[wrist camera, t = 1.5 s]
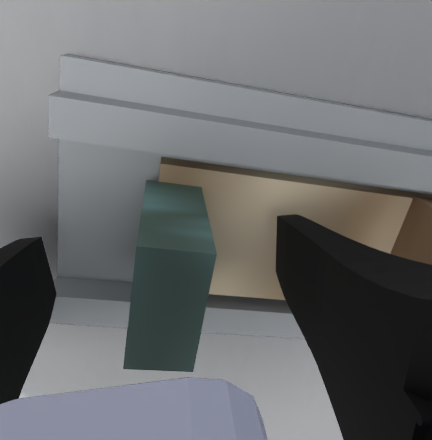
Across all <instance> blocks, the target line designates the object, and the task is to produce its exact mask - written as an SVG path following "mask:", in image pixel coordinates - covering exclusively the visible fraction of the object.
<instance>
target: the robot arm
mask: <svg viewBox="0 0 432 440" xmlns="http://www.w3.org/2000/svg"><path fill="white" fill-rule="evenodd" d="M276 274H277V277H278V281H279V284H280V287H281V290H282V293H283V295H284V298H285V300H286V302H287V304H288V306H289V308H290V310H291V312H292V314H293V316H294V318H295V320H296V322H297V324H298V326H299V328H300V330H301V332H302V334H303V336H304V338H305V340H306V342H307V344H308V346H309V348H310V350H311V352H312V354H313V356H314V358H315V361H316V363H317V365H318V368H319V371H320V373H321V376H322V379H323V381H324V384H325V387H326V390H327V392H328V395H329V398H330V401H331V404H332V407H333V410H334V412H335V415H336V418H337V421H338V424H339V427H340V430H341V433H342V436H343V439H344V440H432V265H430V264H426V263H422V262H417V261H413V260H410V259H406V258H402V257H399V256H396V255H393V254H389V253H386V252H383V251H380V250H377V249H374V248H372V247H369V246H367V245H364V244H362V243H359V242H357V241H354V240H352V239H350V238H347V237H345V236H343V235H341V234H339V233H336V232H334V231H332V230H330V229H328V228H326V227H324V226H322V225H320V224H318V223H316V222H314V221H312V220H310V219H307V218H305V217H303V216H300V215H297V214H292V215H281V216H277V236H276ZM56 294H57V293H56V290H55V286H54V282H53V278H52V275H51V271H50V267H49V263H48V260H47V256H46V252H45V249H44V245H43V241H42V237H37V238H26V239H19V240H17V241H14V242H12V243H10V244H8V245H6V246H4V247H2V248H1V249H0V440H267V436H266V432H265V428H264V424H263V420H262V417H261V415H260V412H259V410H258V407H257V405H256V402H255V400H254V397H253V396H252V395H250V394H249V393H247V392H245V391H243V390H242V389H240V388H238V387H237V386H235V385H233V384H231V383H230V382H228V381H226V380H220V379H205V378H190V377H187V378H179V379H171V380H163V381H155V382H147V383H139V384H131V385H123V386H115V387H107V388H99V389H91V390H83V391H75V392H67V393H59V394H51V395H43V396H35V397H27V398H20V399H18V398H19V395H20V393H21V390H22V387H23V385H24V383H25V380H26V378H27V375H28V373H29V371H30V368H31V366H32V364H33V361H34V359H35V357H36V354H37V352H38V349H39V347H40V345H41V342H42V340H43V337H44V335H45V333H46V330H47V328H48V325H49V322H50V319H51V315H52V312H53V307H54V303H55V299H56Z"/></svg>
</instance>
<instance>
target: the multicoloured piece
mask: <svg viewBox="0 0 432 440" xmlns="http://www.w3.org/2000/svg"><path fill="white" fill-rule="evenodd" d="M414 196H419V197H427V198H432V195H430V194H423V193H415V192H408V191H401V190H394V189H387V188H380V187H373V186H366V185H359V184H351V183H344V182H337V181H330V180H323V179H316V178H309V177H302V176H294V175H287V174H280V173H273V172H266V171H259V170H252V169H245V168H238V167H230V166H223V165H216V164H209V163H202V162H195V161H188V160H181V159H174V158H166V157H161V163H160V171H159V180H158V181H151V180H146V185H145V191H144V198H143V205H142V211H141V218H140V225H139V231H138V238H137V245H136V253H135V263H134V272H133V282H132V291H131V301H130V310H129V320H128V329H127V339H126V348H125V358H124V367H123V369H138V370H161V371H185V372H193V369H194V364H195V359H196V354H197V349H198V344H199V339H200V334H201V330H202V325H203V320H204V315H205V310H206V305H207V300H208V295H209V294H214V295H227V296H239V297H252V298H264V299H277V300H285V298H284V295H283V293H282V290H281V287H280V284H279V281H278V277H277V274H276V236H277V216H281V215H292V214H297V215H300V216H303V217H305V218H307V219H310V220H312V221H314V222H316V223H318V224H320V225H322V226H324V227H326V228H328V229H330V230H332V231H334V232H336V233H339V234H341V235H343V236H345V237H347V238H350V239H352V240H354V241H357V242H359V243H362V244H364V245H367V246H369V247H372V248H374V249H377V250H380V251H383V252H386V253H389V254H390V253H391V250H392V248H393V246H394V243H395V241H396V238H397V236H398V234H399V231H400V229H401V226H402V224H403V221H404V219H405V217H406V214H407V212H408V209H409V207H410V204H411V202H412V200H413V197H414Z"/></svg>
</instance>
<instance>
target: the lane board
mask: <svg viewBox="0 0 432 440" xmlns="http://www.w3.org/2000/svg"><path fill="white" fill-rule="evenodd" d="M48 138H53V139H59V166H58V252H57V278H56V281H55V283H54V286H55V290H56V293H57V294H56V299H55V303H54V307H53V312H52V315H51V319H50V322H49V323H53V324H69V325H86V326H102V327H118V328H128V320H129V310H130V301H131V291H132V282H133V272H134V263H135V253H136V245H137V238H138V231H139V225H140V218H141V211H142V205H143V198H144V191H145V185H146V180H151V181H158V180H159V171H160V163H161V157H166V158H174V159H181V160H188V161H195V162H202V163H209V164H216V165H223V166H230V167H238V168H245V169H252V170H259V171H266V172H273V173H280V174H287V175H294V176H302V177H309V178H316V179H323V180H330V181H337V182H344V183H351V184H359V185H366V186H373V187H380V188H387V189H394V190H401V191H408V192H415V193H423V194H430V195H432V120H431V119H426V118H420V117H415V116H409V115H404V114H398V113H393V112H387V111H381V110H376V109H370V108H365V107H359V106H354V105H348V104H342V103H337V102H331V101H326V100H320V99H315V98H309V97H304V96H298V95H292V94H287V93H281V92H276V91H270V90H265V89H259V88H254V87H248V86H242V85H237V84H231V83H226V82H220V81H215V80H209V79H203V78H198V77H192V76H187V75H181V74H176V73H170V72H165V71H159V70H153V69H148V68H142V67H137V66H131V65H126V64H120V63H115V62H109V61H103V60H98V59H92V58H87V57H81V56H76V55H70V54H65V55H60V79H59V91H57V92H55V93H52V94H50V95H48ZM201 333H216V334H233V335H249V336H265V337H282V338H298V339H305V338H304V336H303V334H302V332H301V330H300V328H299V326H298V324H297V322H296V320H295V318H294V316H293V314H292V312H291V310H290V308H289V306H288V304H287V302H286V300H277V299H264V298H252V297H239V296H227V295H214V294H209V295H208V300H207V305H206V310H205V315H204V320H203V325H202V330H201Z"/></svg>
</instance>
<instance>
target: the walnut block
mask: <svg viewBox="0 0 432 440" xmlns="http://www.w3.org/2000/svg"><path fill="white" fill-rule="evenodd" d="M390 254H393V255H396V256H399V257H402V258H406V259H410V260H413V261H417V262H422V263H426V264H430V265H432V198H427V197H419V196H414V197H413V200H412V202H411V204H410V207H409V209H408V212H407V214H406V217H405V219H404V221H403V224H402V226H401V229H400V231H399V234H398V236H397V238H396V241H395V243H394V246H393V248H392V250H391V253H390Z"/></svg>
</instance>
